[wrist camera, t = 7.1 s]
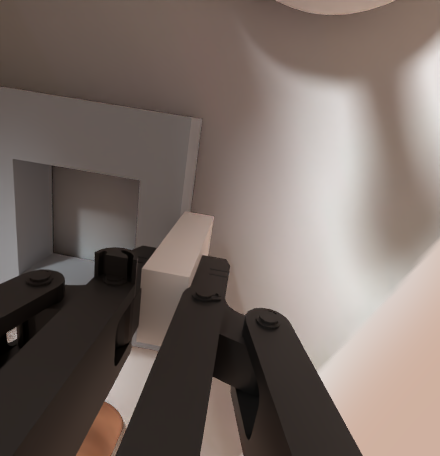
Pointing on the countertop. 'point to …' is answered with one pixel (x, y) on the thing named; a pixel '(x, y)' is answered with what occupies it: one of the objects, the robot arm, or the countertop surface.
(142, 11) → the countertop surface
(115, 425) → the dowel
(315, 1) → the flower in vase
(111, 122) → the holed block
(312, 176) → the countertop surface
